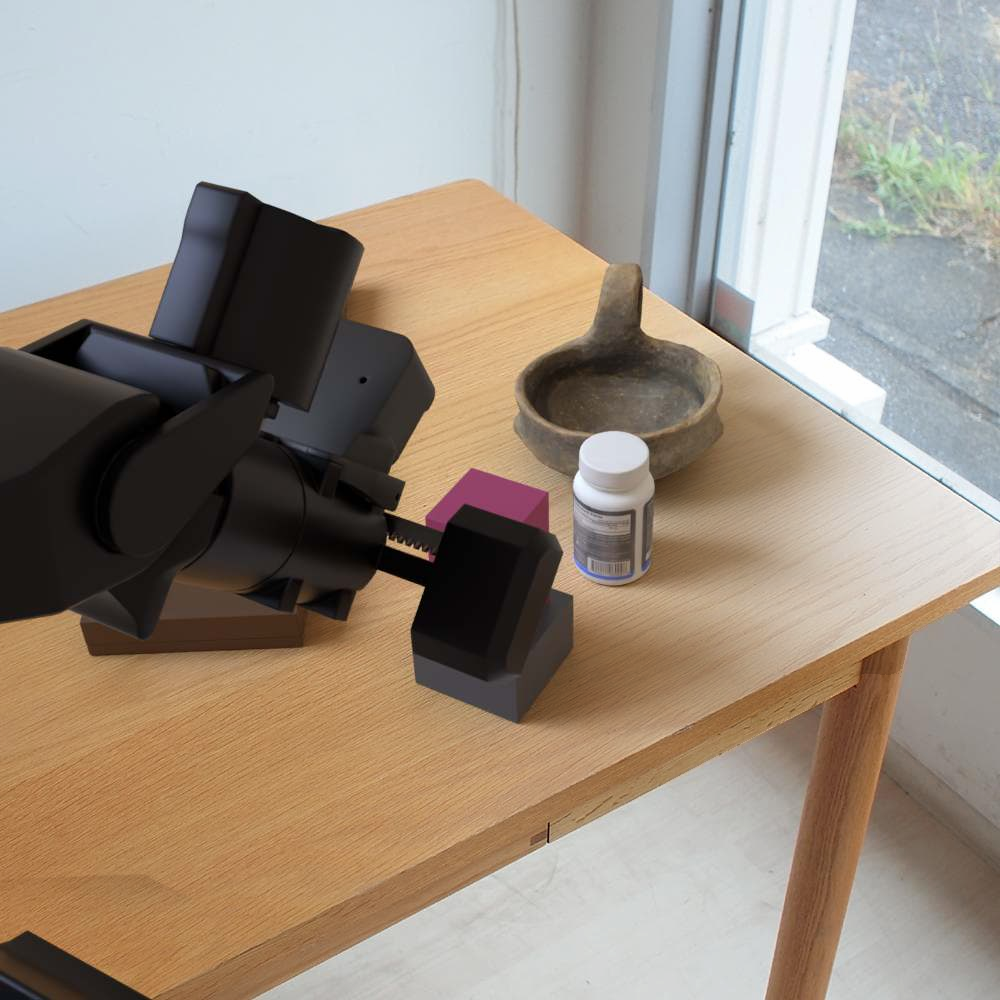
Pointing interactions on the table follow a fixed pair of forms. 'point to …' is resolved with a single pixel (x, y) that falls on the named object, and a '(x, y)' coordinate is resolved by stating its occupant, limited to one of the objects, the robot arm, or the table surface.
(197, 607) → the tray
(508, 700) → the slate block
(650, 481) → the pill bottle
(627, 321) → the bowl
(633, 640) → the table surface
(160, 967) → the table surface
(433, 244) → the table surface
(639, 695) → the table surface
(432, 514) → the mulberry block
